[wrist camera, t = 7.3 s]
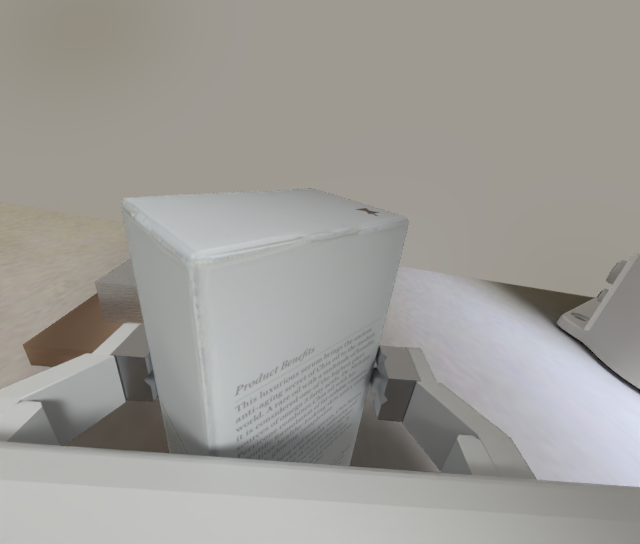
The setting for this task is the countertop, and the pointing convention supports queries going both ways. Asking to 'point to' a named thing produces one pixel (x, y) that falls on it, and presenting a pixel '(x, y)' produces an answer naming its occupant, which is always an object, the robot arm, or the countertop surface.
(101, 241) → the countertop surface
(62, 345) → the socket board
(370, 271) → the skincare box
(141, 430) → the countertop surface
